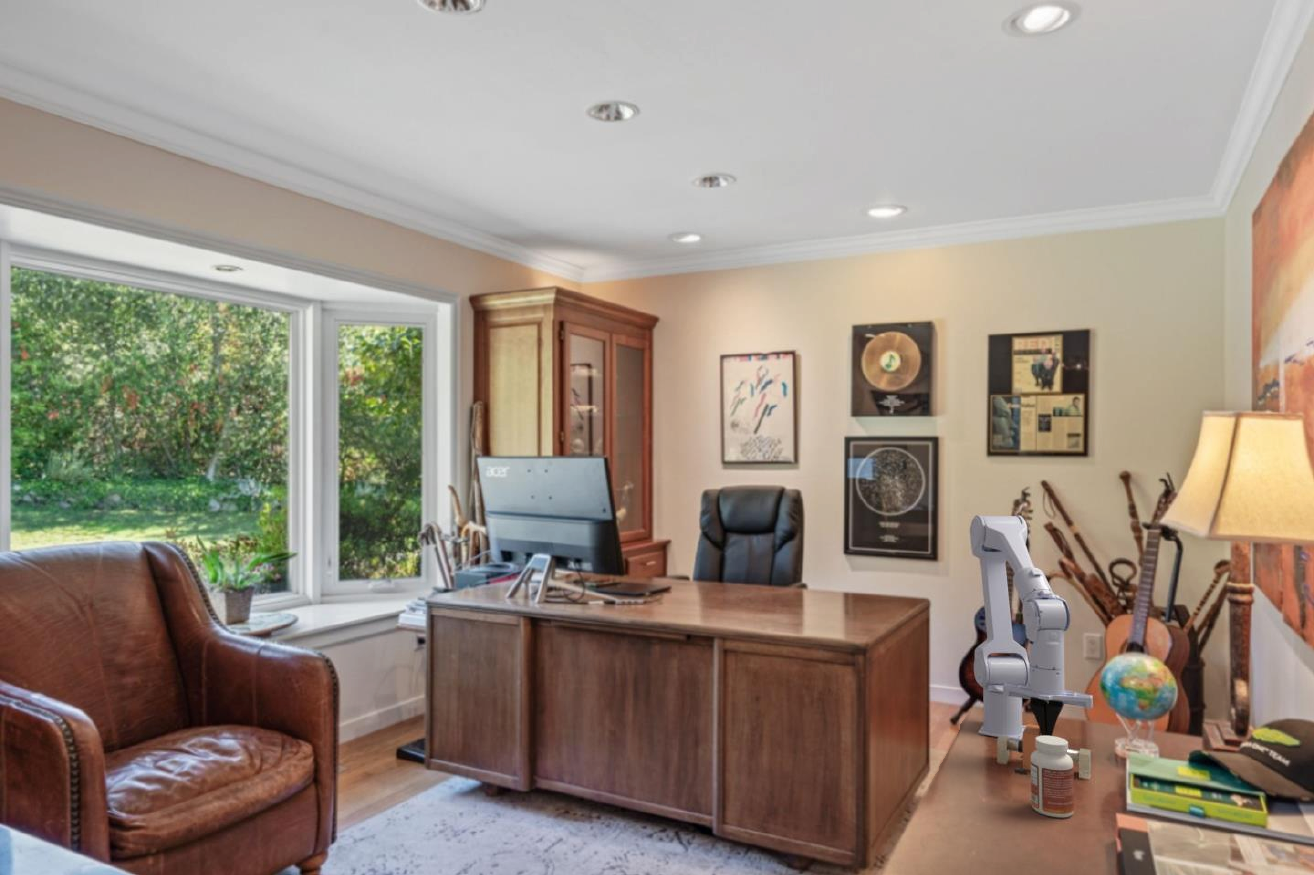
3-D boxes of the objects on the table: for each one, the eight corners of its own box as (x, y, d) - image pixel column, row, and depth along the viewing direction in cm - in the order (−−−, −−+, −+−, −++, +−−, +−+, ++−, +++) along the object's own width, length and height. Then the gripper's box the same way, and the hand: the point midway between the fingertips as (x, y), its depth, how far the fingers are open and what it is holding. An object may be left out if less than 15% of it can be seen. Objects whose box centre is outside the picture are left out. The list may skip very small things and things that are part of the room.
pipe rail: (994, 768, 149) (993, 744, 149) (1003, 752, 157) (1003, 729, 157) (1087, 786, 141) (1087, 760, 141) (1092, 768, 149) (1091, 744, 149)
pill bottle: (1082, 813, 130) (1081, 742, 130) (1060, 822, 126) (1059, 749, 127) (1045, 799, 135) (1044, 731, 135) (1022, 808, 132) (1022, 737, 132)
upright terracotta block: (1022, 769, 148) (1022, 733, 148) (1027, 758, 153) (1027, 724, 153) (1038, 771, 146) (1037, 735, 147) (1042, 761, 152) (1042, 726, 152)
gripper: (999, 665, 149) (1000, 741, 149) (1090, 676, 142) (1090, 756, 141) (1006, 657, 155) (1006, 730, 155) (1093, 667, 148) (1093, 744, 147)
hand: (1047, 742), depth 149 cm, fingers closed
